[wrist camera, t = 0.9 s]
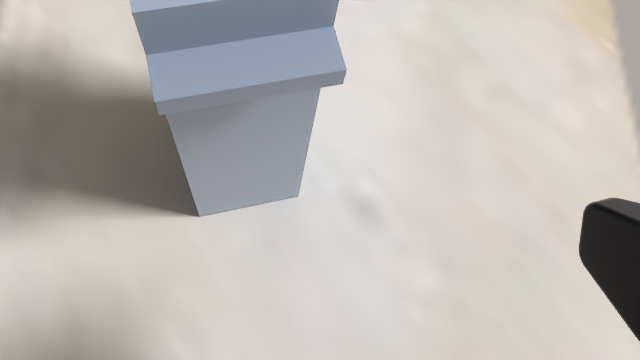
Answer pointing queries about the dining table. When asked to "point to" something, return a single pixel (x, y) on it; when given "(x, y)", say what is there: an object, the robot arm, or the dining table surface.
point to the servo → (240, 90)
